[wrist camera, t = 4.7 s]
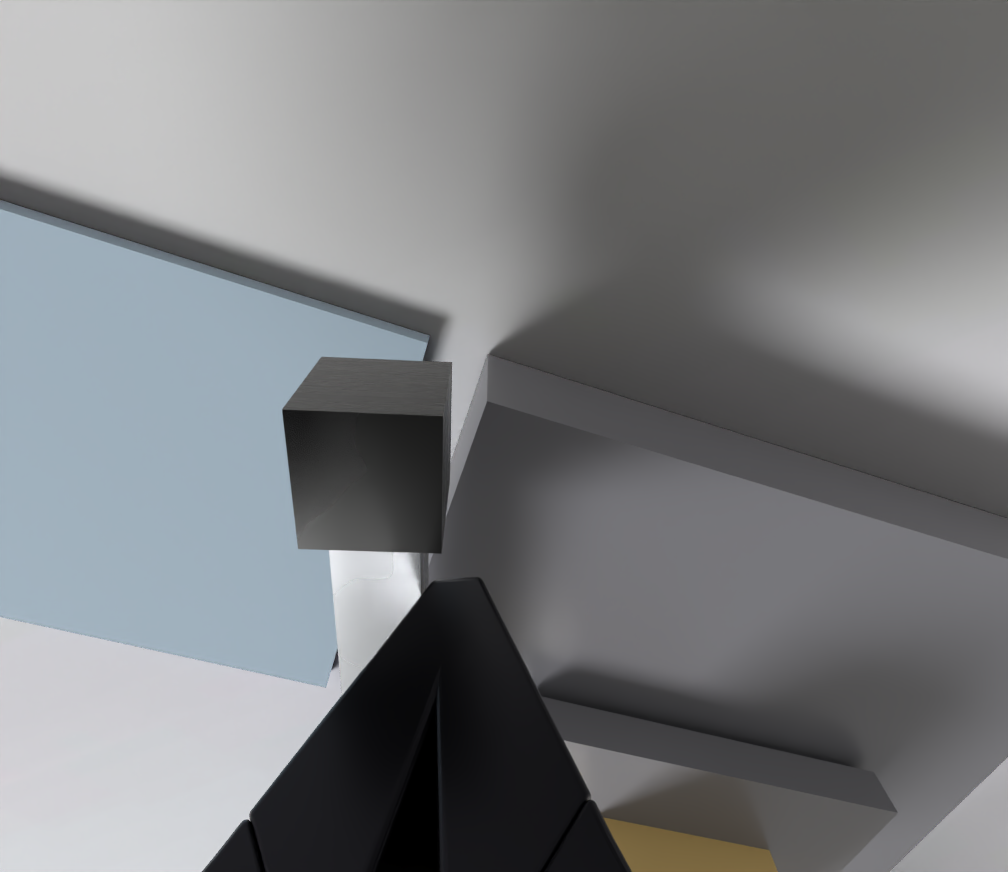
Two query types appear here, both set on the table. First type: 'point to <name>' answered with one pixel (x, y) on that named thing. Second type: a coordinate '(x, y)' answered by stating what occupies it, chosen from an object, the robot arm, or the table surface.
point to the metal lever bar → (371, 487)
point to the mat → (161, 448)
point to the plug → (718, 798)
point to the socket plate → (736, 589)
